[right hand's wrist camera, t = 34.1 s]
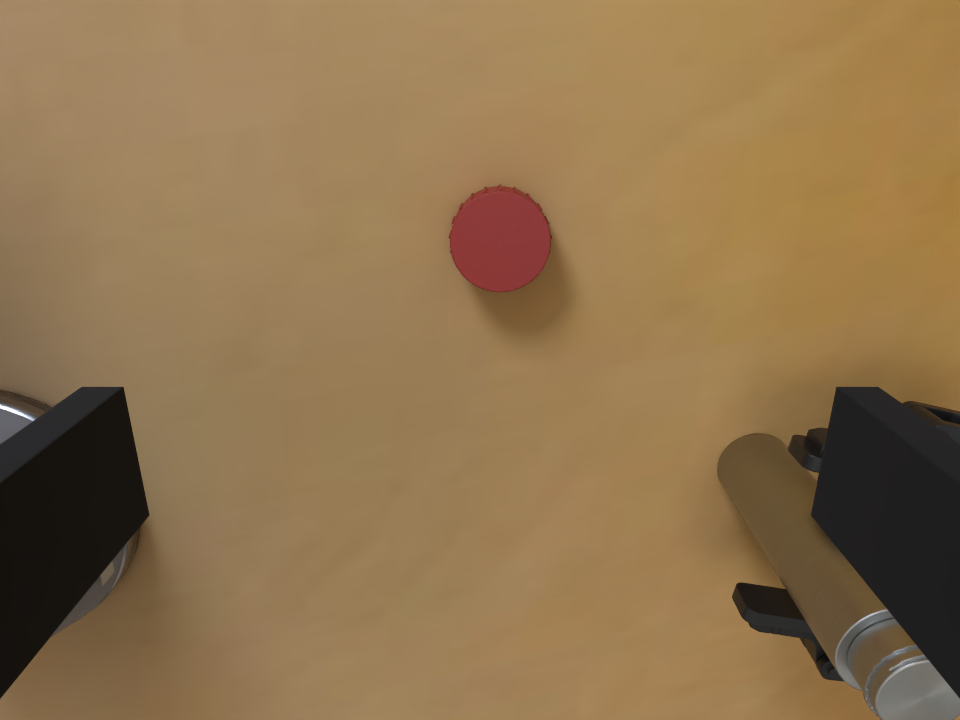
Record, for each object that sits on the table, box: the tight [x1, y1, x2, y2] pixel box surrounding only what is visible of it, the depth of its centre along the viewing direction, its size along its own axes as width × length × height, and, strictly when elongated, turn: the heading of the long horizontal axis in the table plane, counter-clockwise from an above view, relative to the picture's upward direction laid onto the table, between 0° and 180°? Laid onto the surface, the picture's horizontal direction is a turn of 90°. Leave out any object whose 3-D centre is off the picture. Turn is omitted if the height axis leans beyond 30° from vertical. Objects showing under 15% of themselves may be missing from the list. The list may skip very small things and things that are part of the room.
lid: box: [449, 185, 552, 292], centre depth 33 cm, size 5×5×2 cm
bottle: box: [718, 434, 960, 720], centre depth 31 cm, size 4×4×16 cm
